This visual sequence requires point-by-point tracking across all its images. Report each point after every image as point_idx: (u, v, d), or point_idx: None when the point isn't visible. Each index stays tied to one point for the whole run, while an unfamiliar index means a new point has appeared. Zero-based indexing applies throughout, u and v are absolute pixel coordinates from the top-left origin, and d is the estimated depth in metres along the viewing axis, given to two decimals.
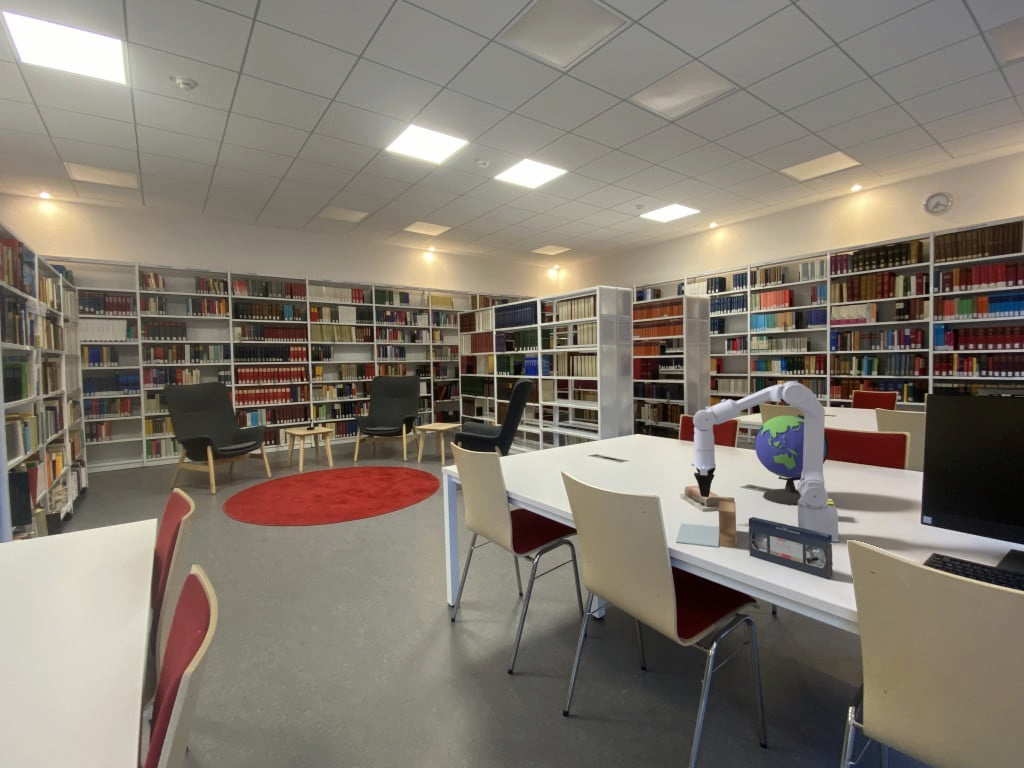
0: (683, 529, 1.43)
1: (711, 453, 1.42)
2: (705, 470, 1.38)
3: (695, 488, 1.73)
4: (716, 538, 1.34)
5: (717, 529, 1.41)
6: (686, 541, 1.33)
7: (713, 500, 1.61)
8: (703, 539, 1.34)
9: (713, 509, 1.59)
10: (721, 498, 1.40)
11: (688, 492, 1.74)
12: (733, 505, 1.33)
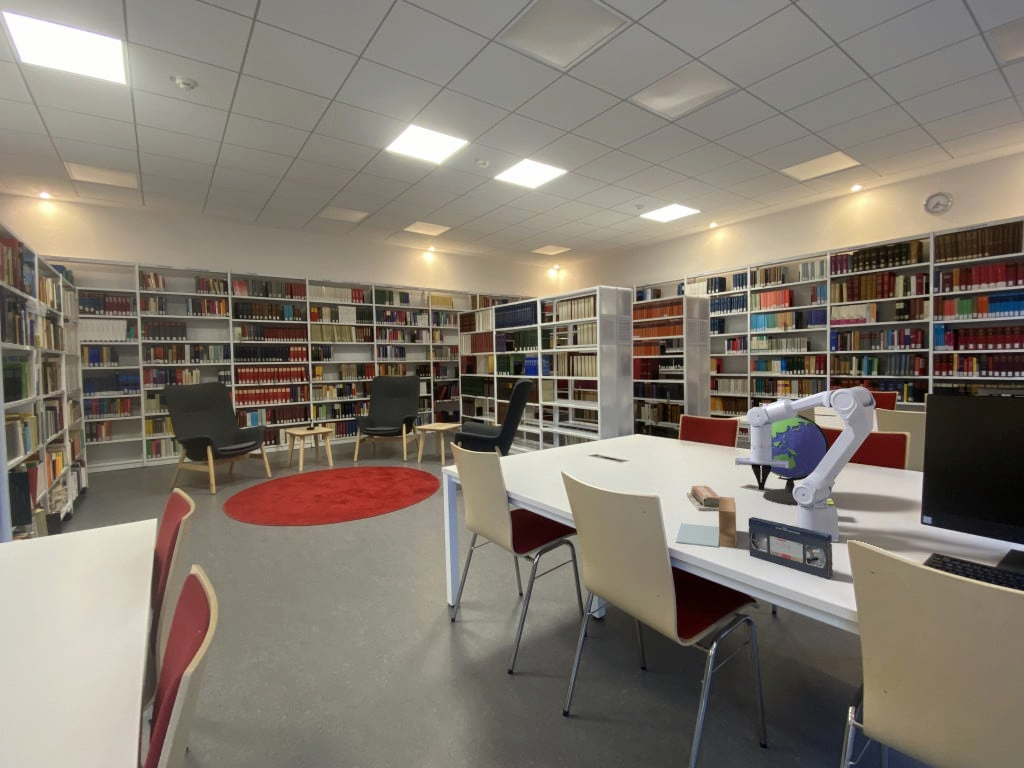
0: (683, 529, 1.43)
1: (754, 449, 1.44)
2: (735, 460, 1.48)
3: (700, 488, 1.73)
4: (716, 538, 1.34)
5: (717, 529, 1.41)
6: (686, 541, 1.33)
7: (711, 500, 1.61)
8: (703, 539, 1.34)
9: (710, 509, 1.60)
10: (721, 498, 1.40)
11: (693, 491, 1.74)
12: (733, 505, 1.33)
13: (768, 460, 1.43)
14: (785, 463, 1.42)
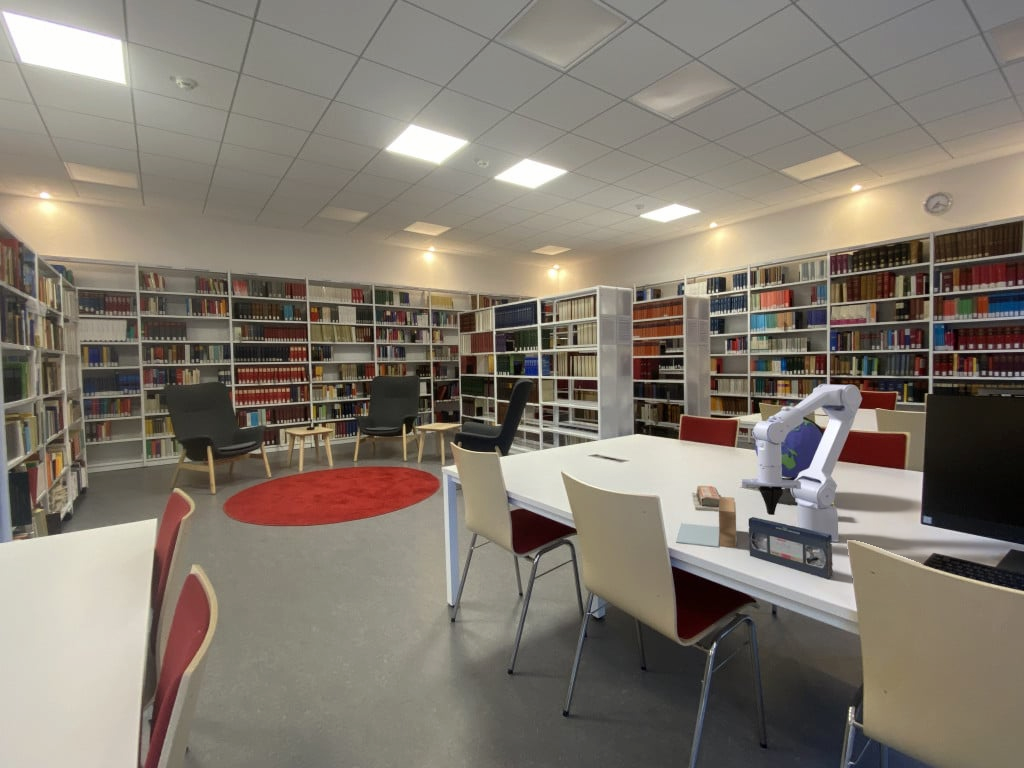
0: (683, 529, 1.43)
1: (764, 469, 1.28)
2: (741, 482, 1.31)
3: (704, 488, 1.72)
4: (716, 538, 1.34)
5: (717, 529, 1.41)
6: (686, 541, 1.33)
7: (709, 500, 1.61)
8: (703, 539, 1.34)
9: (707, 509, 1.60)
10: (721, 498, 1.40)
11: None
12: (733, 505, 1.33)
13: (779, 481, 1.27)
14: (797, 484, 1.27)
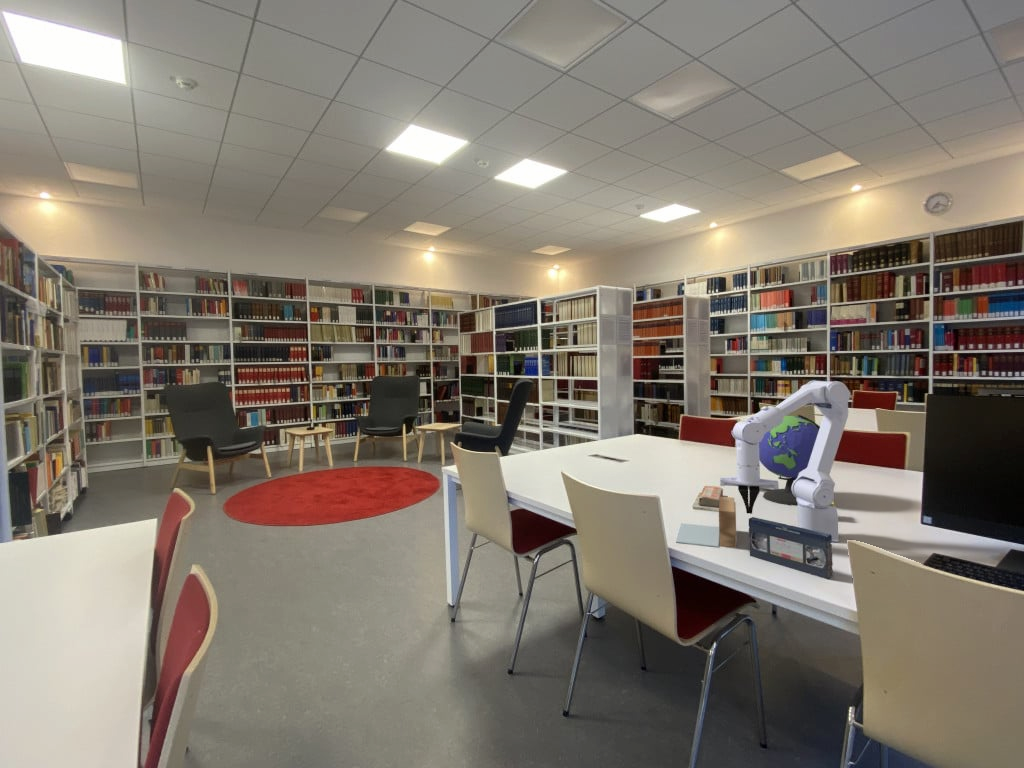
0: (683, 529, 1.43)
1: (740, 468, 1.31)
2: (720, 480, 1.35)
3: (709, 488, 1.72)
4: (716, 538, 1.34)
5: (717, 529, 1.41)
6: (686, 541, 1.33)
7: (707, 500, 1.61)
8: (703, 539, 1.34)
9: (704, 509, 1.60)
10: (721, 498, 1.40)
11: None
12: (733, 505, 1.33)
13: (756, 481, 1.29)
14: (775, 484, 1.28)
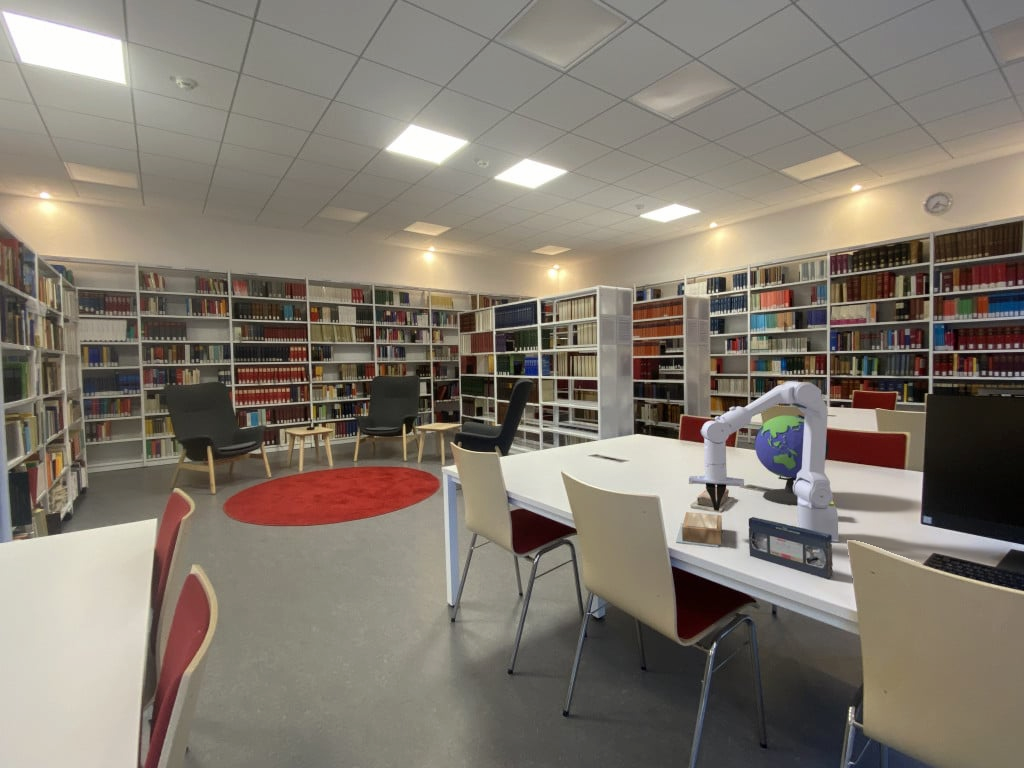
0: None
1: (708, 467, 1.34)
2: None
3: None
4: None
5: None
6: (686, 541, 1.33)
7: (705, 500, 1.62)
8: None
9: (701, 508, 1.61)
10: None
11: None
12: None
13: (722, 479, 1.33)
14: (740, 482, 1.32)
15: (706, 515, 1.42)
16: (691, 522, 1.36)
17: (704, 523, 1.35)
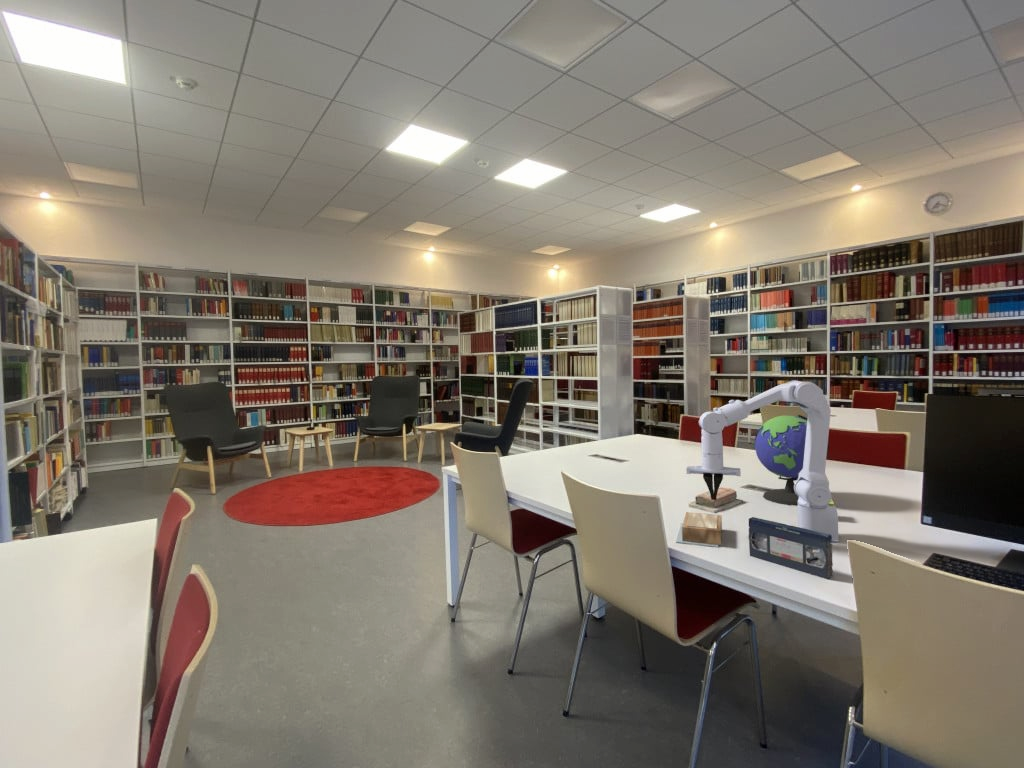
0: None
1: (705, 456, 1.37)
2: (686, 468, 1.41)
3: (720, 489, 1.69)
4: None
5: None
6: (686, 541, 1.33)
7: (703, 500, 1.62)
8: None
9: (698, 507, 1.62)
10: None
11: None
12: None
13: (719, 468, 1.35)
14: (737, 471, 1.35)
15: (706, 515, 1.42)
16: (691, 522, 1.36)
17: (704, 523, 1.35)
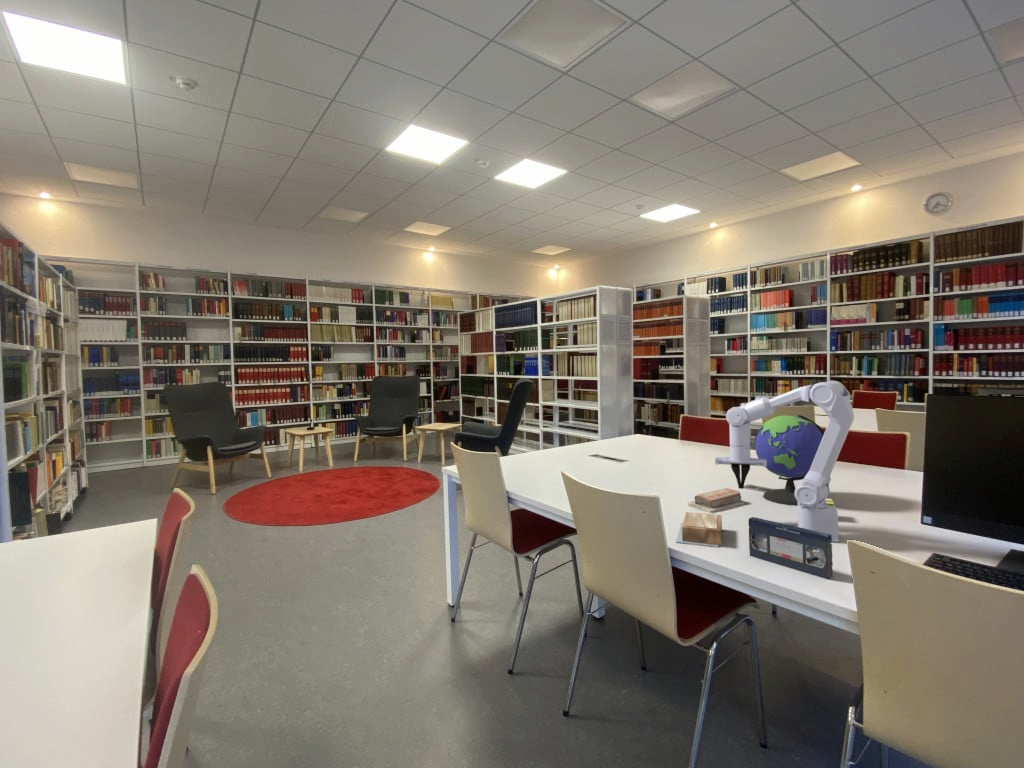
0: None
1: (733, 448, 1.47)
2: (715, 459, 1.51)
3: (724, 490, 1.68)
4: None
5: None
6: (686, 541, 1.33)
7: (701, 499, 1.63)
8: None
9: (696, 507, 1.63)
10: None
11: None
12: None
13: (747, 459, 1.45)
14: (763, 462, 1.44)
15: (706, 515, 1.42)
16: (691, 522, 1.36)
17: (704, 523, 1.35)
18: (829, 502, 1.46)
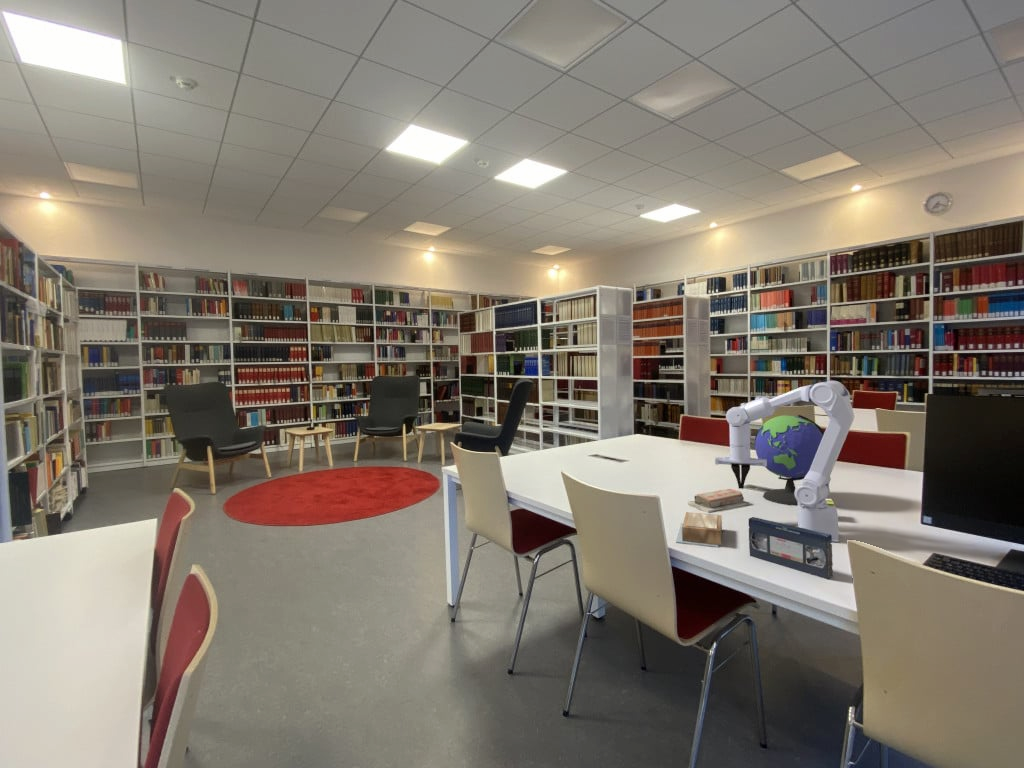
0: None
1: (733, 448, 1.47)
2: (715, 459, 1.51)
3: (726, 491, 1.68)
4: None
5: None
6: (686, 541, 1.33)
7: (700, 499, 1.63)
8: None
9: (695, 506, 1.63)
10: None
11: None
12: None
13: (747, 459, 1.45)
14: (763, 462, 1.44)
15: (706, 515, 1.42)
16: (691, 522, 1.36)
17: (704, 523, 1.35)
18: (829, 502, 1.46)
